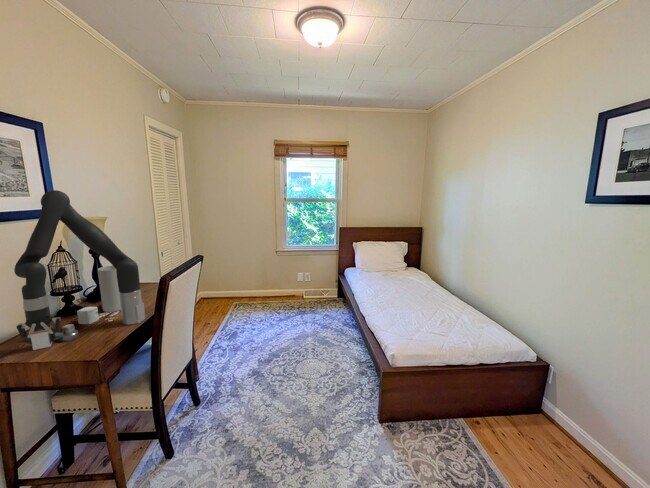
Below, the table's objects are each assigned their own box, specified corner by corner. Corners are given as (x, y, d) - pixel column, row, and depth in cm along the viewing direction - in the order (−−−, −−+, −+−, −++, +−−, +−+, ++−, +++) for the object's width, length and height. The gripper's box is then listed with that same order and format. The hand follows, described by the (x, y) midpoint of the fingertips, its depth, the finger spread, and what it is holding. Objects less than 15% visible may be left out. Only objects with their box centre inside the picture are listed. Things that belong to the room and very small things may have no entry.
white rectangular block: (53, 341, 128) (50, 325, 127) (50, 346, 123) (47, 329, 122) (37, 344, 125) (34, 328, 124) (33, 350, 120) (29, 333, 119)
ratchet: (82, 334, 134) (80, 322, 133) (71, 341, 128) (69, 328, 127) (36, 335, 133) (34, 323, 132) (22, 342, 127) (20, 329, 126)
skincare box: (89, 324, 145) (87, 311, 144) (78, 324, 146) (76, 310, 144) (99, 319, 151) (97, 306, 150) (88, 319, 152) (87, 306, 150)
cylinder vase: (112, 313, 158) (107, 271, 154) (97, 310, 162) (92, 269, 158) (134, 305, 170) (129, 266, 166) (119, 303, 174) (114, 264, 170)
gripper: (61, 300, 128) (66, 335, 131) (16, 307, 120) (23, 343, 123) (56, 306, 122) (62, 342, 125) (9, 313, 114) (16, 351, 117)
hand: (43, 342), depth 124 cm, fingers closed on white rectangular block, 5 cm apart
